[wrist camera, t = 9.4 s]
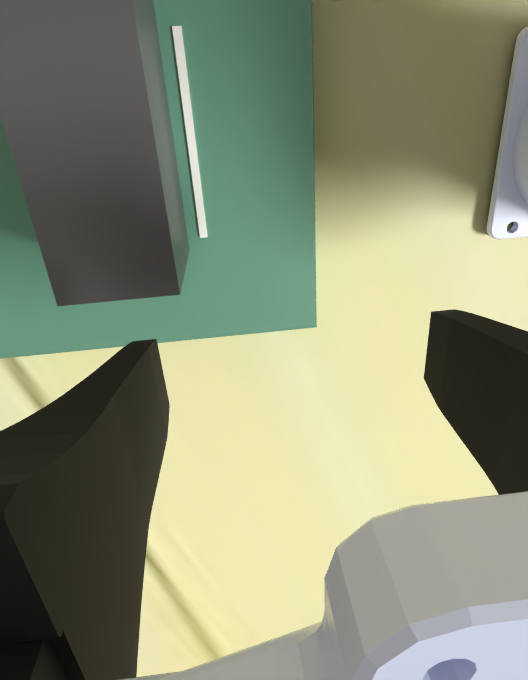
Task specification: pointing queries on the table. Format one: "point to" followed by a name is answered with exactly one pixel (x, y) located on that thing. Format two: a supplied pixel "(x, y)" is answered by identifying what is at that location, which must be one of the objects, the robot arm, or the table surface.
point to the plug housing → (94, 146)
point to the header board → (201, 191)
